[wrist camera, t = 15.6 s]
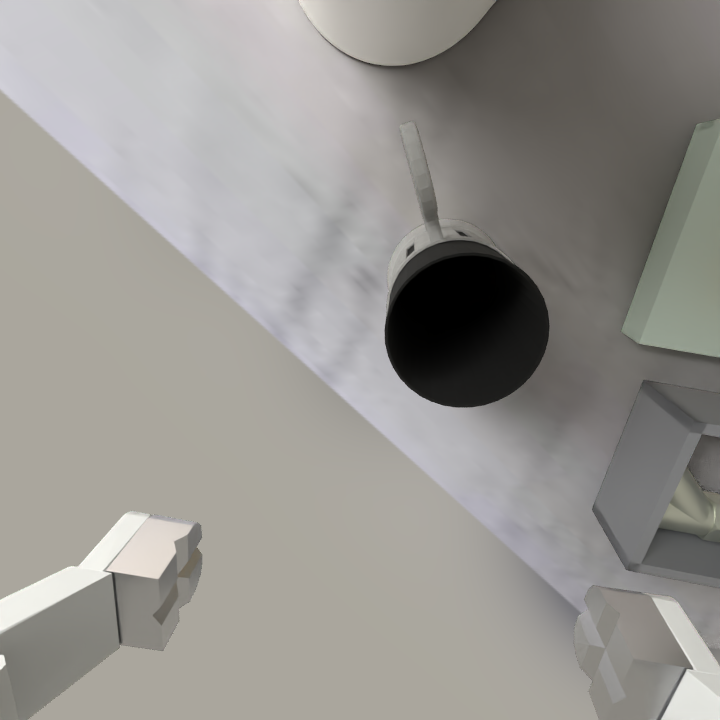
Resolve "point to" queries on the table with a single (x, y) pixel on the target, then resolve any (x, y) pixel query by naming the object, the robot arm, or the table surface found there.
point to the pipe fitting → (693, 510)
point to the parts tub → (658, 484)
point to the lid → (685, 259)
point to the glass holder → (458, 306)
